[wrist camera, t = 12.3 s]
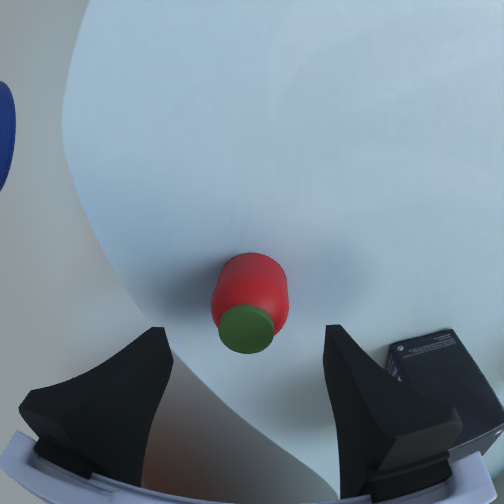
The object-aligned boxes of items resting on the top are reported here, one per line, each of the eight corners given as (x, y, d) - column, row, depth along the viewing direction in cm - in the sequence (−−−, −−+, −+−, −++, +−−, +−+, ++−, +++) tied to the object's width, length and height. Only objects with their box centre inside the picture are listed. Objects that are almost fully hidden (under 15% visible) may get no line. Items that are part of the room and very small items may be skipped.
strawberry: (223, 313, 19) (208, 365, 14) (215, 254, 17) (194, 295, 12) (287, 311, 18) (291, 364, 13) (285, 250, 17) (291, 293, 12)
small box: (384, 343, 19) (432, 458, 9) (453, 325, 18) (516, 415, 8) (370, 420, 22) (391, 508, 13) (427, 404, 22) (458, 483, 12)
